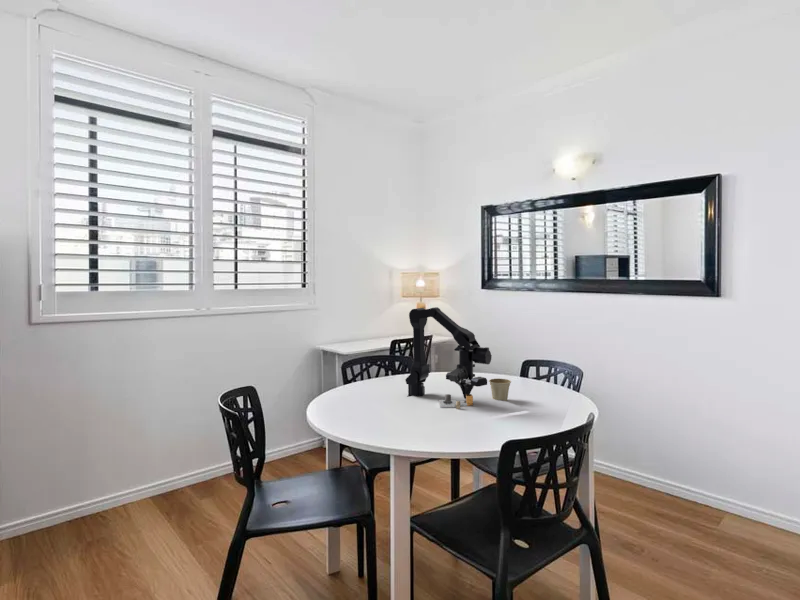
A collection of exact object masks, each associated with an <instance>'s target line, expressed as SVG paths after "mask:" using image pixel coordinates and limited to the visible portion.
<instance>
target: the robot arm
mask: <svg viewBox="0 0 800 600" xmlns="http://www.w3.org/2000/svg"><path fill="white" fill-rule="evenodd" d="M408 313H409V314H408V316H409V317H408V318H409V323H410V325H411V327H412V329H413V333H412V335H413V336H412V337H413V362H412V364H411V367H410V372H409V375H408V376H407V377H406V378H405V379H404V380H405V383H406V385H408V389H407V392H408V395H407V396H406V397H424V396H425V395H426V394H425V392H426V391H425V389H426V388H425V387H426V386H425V385H424V384H425V382H426V381H427V378H428V377H429V376H430V373H431V369H430V366H431V364H429V363H427V362H426V359H425V358H426V356H425V352H426V351H425V348H426V347H425V327H426V324H427V322H428V318H432V319H434V320H435V321H436V322H437V323H438V324H440V325H441V326H442V327H443V328H444V329H446V331H448V332H449V333H450V334H451V335H452V337H453V339H454V340H455V342H456V344H457V346H456V347H455V348H454V352H455V351H456V352H459V353H458V354H459V355H458V361H459V362H458V363H457V364H456V368H455V369H453V370H452V371H448V372H447V373H446V374H445V380H448V381H450V382H453V383H455V384H457V385H458V386H459V387H460V389H461V391H462V393H461V394H462V396H463V398H464V400H466V394H472V393H471V392H472V390H473V389H474V387H482V386H487V385H488V379H487V377H483V376H477V377H476V374H475V373H474V368H475V367H476V364H478V365H479V364H480V365H490V363H491V362H492V354H491V351H490V347H487V346H486V347H485V346H484V347H481V345H480V344H479V342H478V341H477V339H476V335H475V334H474V332H473V331H471V330H468V329H467V328H464V327H463V326H460V325H459V324H458V323H457V322H455V321H454V320H453V319H452V318H450V317H449V316H448V315H447V314H446V313H445V312H443V310H441V308H439V307H431V308H427V309H426V308H424V307H420V308H419V307H418V308H413V309H411V310H410V311H409V312H408Z"/></svg>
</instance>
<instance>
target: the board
mask: <svg viewBox="0 0 800 600" xmlns="http://www.w3.org/2000/svg"><path fill="white" fill-rule="evenodd" d="M451 398H452V394H450V393H447V394H444V400H445V403H451V400H452V399H451ZM460 401H461V400H456V407H455V408H456V410H461V406H460Z"/></svg>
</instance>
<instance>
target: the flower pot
mask: <svg viewBox="0 0 800 600" xmlns="http://www.w3.org/2000/svg"><path fill="white" fill-rule="evenodd" d="M488 382H489V384H490V385H489V386H490V390H491V396H492V397H491V398H492V399H493V400H496V401H505V402H508V398H509V389H510V386H511V383H512V381H511V380H510V379H506V378H490V379H489V380H488Z"/></svg>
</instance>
